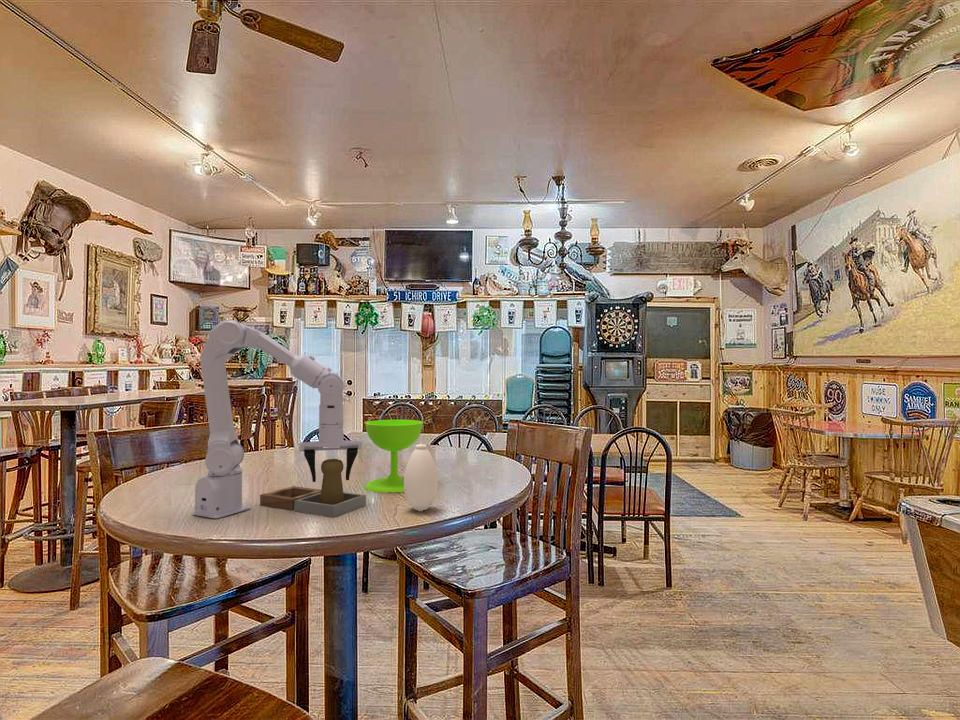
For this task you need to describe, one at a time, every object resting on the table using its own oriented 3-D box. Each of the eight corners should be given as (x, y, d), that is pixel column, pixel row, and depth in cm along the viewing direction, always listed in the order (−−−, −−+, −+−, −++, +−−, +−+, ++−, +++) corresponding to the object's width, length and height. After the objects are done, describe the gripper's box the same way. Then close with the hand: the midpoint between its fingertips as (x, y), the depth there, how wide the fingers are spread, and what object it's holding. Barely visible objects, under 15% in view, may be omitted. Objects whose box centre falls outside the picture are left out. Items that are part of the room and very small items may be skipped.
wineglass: (358, 492, 143) (358, 425, 143) (372, 480, 159) (372, 419, 159) (417, 493, 142) (418, 425, 142) (426, 480, 158) (426, 419, 158)
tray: (333, 517, 119) (333, 506, 119) (294, 511, 124) (294, 500, 124) (365, 505, 130) (366, 495, 130) (328, 500, 135) (328, 490, 135)
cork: (343, 508, 125) (343, 461, 125) (316, 509, 124) (317, 461, 124) (346, 502, 131) (346, 457, 131) (321, 502, 130) (321, 457, 130)
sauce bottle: (444, 508, 127) (444, 432, 127) (424, 516, 120) (424, 436, 120) (417, 504, 131) (418, 430, 131) (397, 511, 124) (397, 434, 124)
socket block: (292, 510, 125) (293, 499, 125) (260, 505, 129) (260, 494, 129) (324, 500, 134) (324, 490, 134) (292, 495, 139) (292, 486, 139)
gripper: (361, 421, 135) (360, 475, 134) (300, 422, 130) (299, 478, 130) (363, 424, 128) (362, 481, 128) (299, 425, 124) (298, 484, 124)
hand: (330, 480), depth 128 cm, fingers open, 7 cm apart
